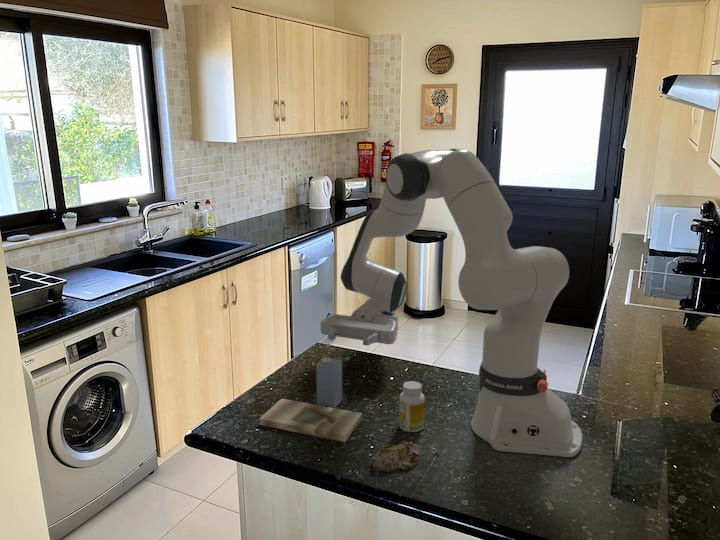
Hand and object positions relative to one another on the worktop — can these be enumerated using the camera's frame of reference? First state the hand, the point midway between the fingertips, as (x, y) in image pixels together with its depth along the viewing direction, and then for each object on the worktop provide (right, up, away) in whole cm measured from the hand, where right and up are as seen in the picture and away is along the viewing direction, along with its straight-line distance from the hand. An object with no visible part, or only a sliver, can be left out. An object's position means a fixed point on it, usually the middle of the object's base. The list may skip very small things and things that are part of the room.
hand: (347, 339), depth 145 cm
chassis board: (-8, -16, -18) cm, 25 cm away
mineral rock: (+10, -20, -32) cm, 39 cm away
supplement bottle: (+14, -17, -19) cm, 29 cm away
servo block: (-4, -14, -8) cm, 17 cm away
